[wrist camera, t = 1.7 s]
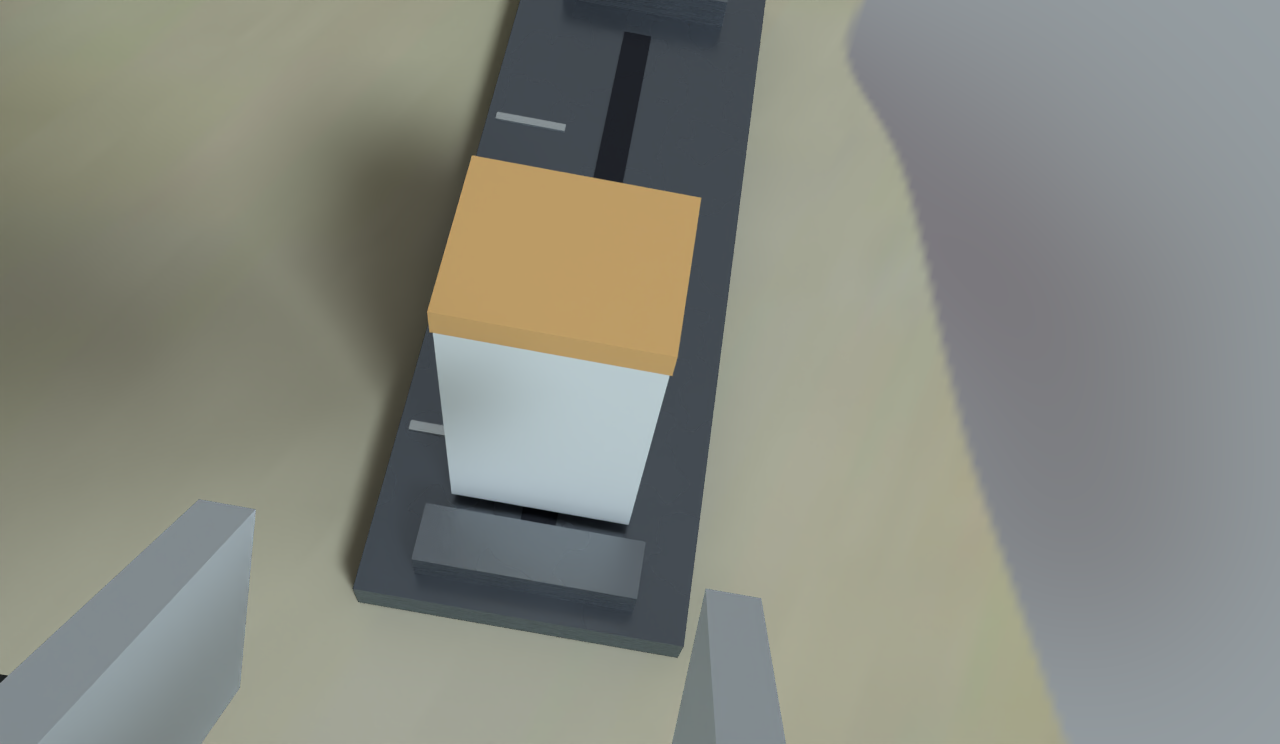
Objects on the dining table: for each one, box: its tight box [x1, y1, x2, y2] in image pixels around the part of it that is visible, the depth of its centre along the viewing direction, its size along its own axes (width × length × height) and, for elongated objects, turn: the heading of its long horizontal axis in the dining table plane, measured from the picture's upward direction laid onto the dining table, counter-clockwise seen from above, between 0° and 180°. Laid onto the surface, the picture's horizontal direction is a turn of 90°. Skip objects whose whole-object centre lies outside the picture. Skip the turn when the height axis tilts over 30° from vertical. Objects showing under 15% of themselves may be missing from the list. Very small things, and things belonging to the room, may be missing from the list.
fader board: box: [353, 0, 765, 658], centre depth 36 cm, size 26×9×2 cm, turn 172°
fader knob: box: [427, 155, 701, 525], centre depth 27 cm, size 4×5×10 cm
